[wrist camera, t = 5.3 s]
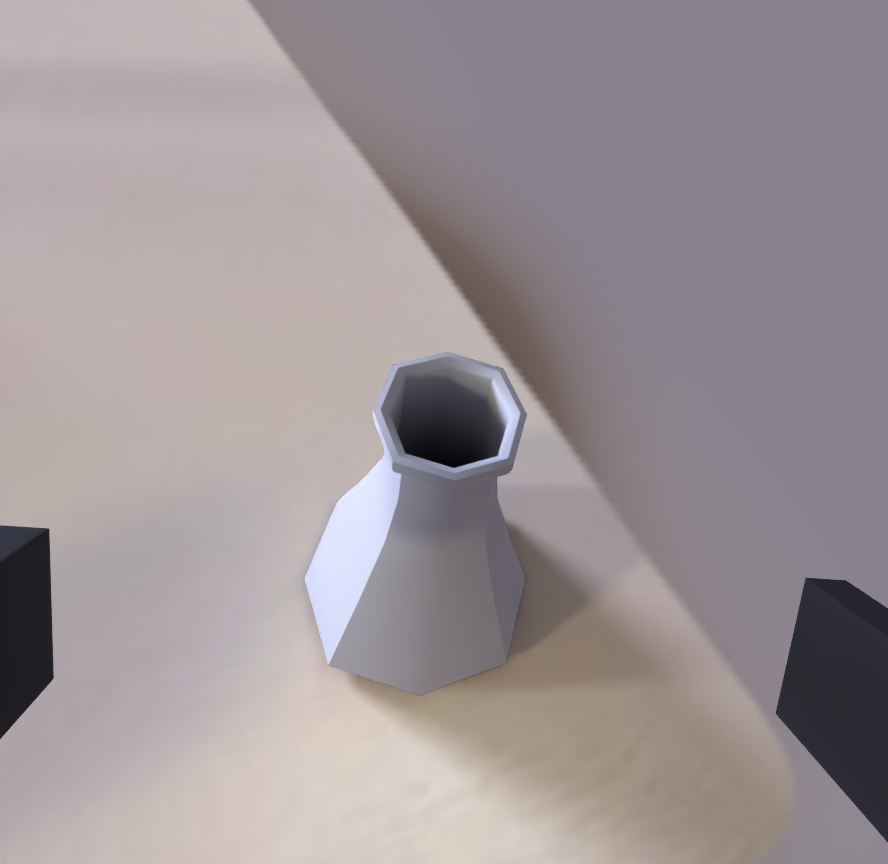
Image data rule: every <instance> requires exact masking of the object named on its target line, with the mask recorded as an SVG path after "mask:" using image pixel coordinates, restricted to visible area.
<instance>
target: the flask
mask: <svg viewBox="0 0 888 864" xmlns="http://www.w3.org/2000/svg"><path fill="white" fill-rule="evenodd" d="M526 416H527V414H526V412H525V410H524V408H523V406H522V404H521V402H520V400H519V398H518V396H517V394H516V392H515V390H514V389H513V387H512V385H511V383H510V381H509V379H508V377H507V375H506V373H505V371H504V369H503V368H500V367H497V366H493V365H490V364H486V363H483V362H480V361H476V360H473V359H470V358H466V357H463V356H459V355H456V354H453V353H449V352H446V353H442V354H437V355H433V356H429V357H424V358H420V359H415V360H411V361H406V362H402V363H398V364H393V366H392V368H391V371H390V373H389V375H388V377H387V380H386V382H385V384H384V387H383V389H382V391H381V394H380V396H379V398H378V401H377V403H376V405H375V408H374V410H373V419H374V422H375V424H376V427H377V430H378V432H379V435H380V438H381V440H382V443H383V446H384V448H385V451H384V457H383V458H382V459H381V460H380V461H379V462H378V463H377V464H376V465H375V467H374V468H373V469H372V470H371V471H370V472H369V473H368V474H367V475H366V476H365V477H364V478H363V479H362V480H361V481H360V482H359V483H358V484H357V485H356V486H355V487H353V488H352V489H351V490H350V491H349V492H348V493H346V494H345V495H344V496H343V497H342V498H341V499H340V500H339V501H338V502H337V504H336V506H335V509H334V511H333V513H332V516H331V518H330V520H329V523H328V525H327V527H326V530H325V532H324V534H323V537H322V539H321V541H320V544H319V546H318V548H317V551H316V553H315V555H314V558H313V560H312V562H311V565H310V567H309V569H308V571H307V574H306V576H305V578H304V579H305V582H306V586H307V590H308V593H309V597H310V600H311V604H312V608H313V611H314V615H315V619H316V622H317V626H318V629H319V633H320V637H321V640H322V644H323V647H324V651H325V655H326V658H327V662H328V665H329V666H332V667H335V668H338V669H341V670H344V671H347V672H350V673H353V674H356V675H359V676H362V677H365V678H368V679H371V680H374V681H377V682H380V683H383V684H386V685H389V686H392V687H395V688H398V689H401V690H404V691H407V692H410V693H413V694H416V695H422V694H424V693H427V692H430V691H432V690H435V689H438V688H440V687H443V686H446V685H449V684H451V683H454V682H457V681H459V680H462V679H465V678H467V677H470V676H473V675H475V674H478V673H481V672H483V671H486V670H489V669H492V668H494V667H497V666H500V665H502V664H505V663H506V662H507V657H508V653H509V649H510V644H511V640H512V636H513V632H514V627H515V623H516V619H517V614H518V610H519V606H520V602H521V597H522V593H523V589H524V584H525V580H526V578H525V575H524V572H523V569H522V566H521V564H520V561H519V559H518V557H517V554H516V552H515V549H514V547H513V544H512V542H511V540H510V537H509V534H508V530H507V527H506V524H505V521H504V518H503V515H502V512H501V508H500V505H499V502H498V499H497V477H498V476H502V475H505V474H508V473H509V472H510V471H511V470H512V467H513V464H514V460H515V456H516V453H517V449H518V445H519V442H520V438H521V434H522V431H523V427H524V423H525V420H526Z"/></svg>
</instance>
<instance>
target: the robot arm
mask: <svg viewBox="0 0 888 864" xmlns="http://www.w3.org/2000/svg"><path fill="white" fill-rule="evenodd" d="M53 679H54V676H53V642H52V608H51V575H50V541H49V529H46V528H31V527H16V526H0V739H1V738H2V736H3V735H4V734H5V733H6V732H7V731H8V730H9V729H10V727H11V726H12V725H13V724H14V723H15V722H16V721H17V719H18V718H19V717H20V716H21V715H22V714H23V713H24V712H25V710H26V709H27V708H28V707H29V706H30V705H31V704H32V702H33V701H34V700H35V699H36V698H37V697H38V696H39V695H40V693H41V692H42V691H43V690H44V689H45V688H46V687H47V685H48V684H49V683H50V682H51V681H52V680H53ZM776 714H777V715H778V717H779V718H780V719H781V720H782V721H783V722H784V723H785V725H786V726H787V727H788V728H789V729H790V730H791V732H792V733H793V734H794V735H795V736H796V737H797V738H798V740H799V741H800V742H801V743H802V744H803V745H804V746H805V748H806V749H807V750H808V751H809V752H810V753H811V755H813V757H814V758H815V759H816V760H817V761H818V763H819V764H820V765H821V766H822V767H823V768H824V769H825V771H826V772H827V773H828V774H829V775H830V776H831V778H832V779H833V780H834V781H835V782H836V783H837V784H838V786H839V787H840V788H841V789H842V790H843V791H844V792H845V794H846V795H847V796H848V797H849V798H850V799H851V801H852V802H854V804H855V805H856V806H857V807H858V809H860V811H861V812H862V813H863V814H864V815H865V817H866V818H867V819H868V820H869V821H870V822H871V824H872V825H873V826H874V827H875V828H876V829H877V830H878V832H879V833H880V834H881V835H882V836H883V837H884V838H885V840H886V841H887V842H888V608H886V607H885V606H883V605H882V604H880V603H879V602H877V601H876V600H874V599H872V598H871V597H870V596H868V595H867V594H865V593H864V592H862V591H861V590H859V589H858V588H856V587H855V586H853V585H852V584H850V583H849V582H847V581H845V580H829V579H814V578H806V579H805V584H804V588H803V593H802V597H801V602H800V606H799V611H798V615H797V620H796V624H795V629H794V633H793V638H792V642H791V647H790V652H789V656H788V660H787V665H786V669H785V674H784V679H783V683H782V687H781V692H780V697H779V701H778V706H777V710H776Z"/></svg>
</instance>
